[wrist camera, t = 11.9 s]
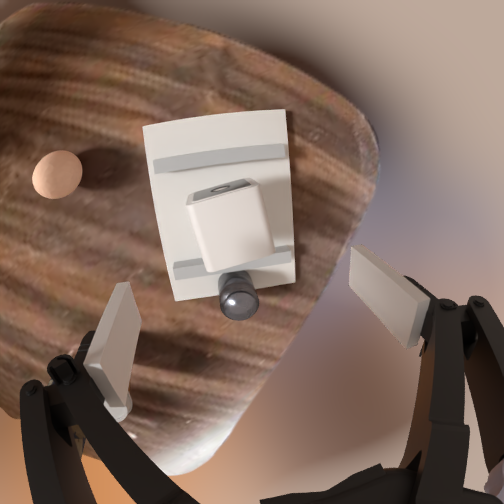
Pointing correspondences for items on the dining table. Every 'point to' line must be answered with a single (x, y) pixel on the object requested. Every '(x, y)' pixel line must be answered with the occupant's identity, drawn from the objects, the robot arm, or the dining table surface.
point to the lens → (237, 295)
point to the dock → (216, 173)
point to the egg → (57, 174)
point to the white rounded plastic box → (230, 224)
